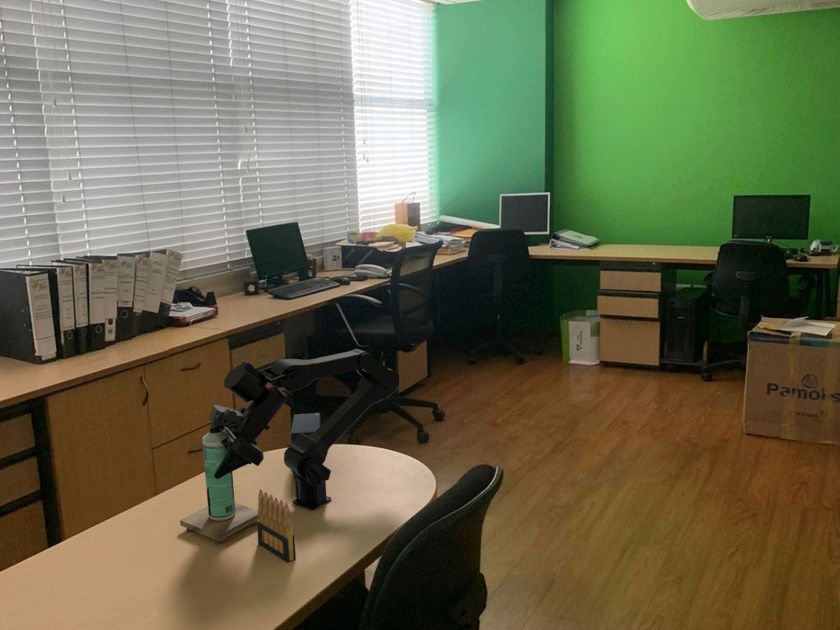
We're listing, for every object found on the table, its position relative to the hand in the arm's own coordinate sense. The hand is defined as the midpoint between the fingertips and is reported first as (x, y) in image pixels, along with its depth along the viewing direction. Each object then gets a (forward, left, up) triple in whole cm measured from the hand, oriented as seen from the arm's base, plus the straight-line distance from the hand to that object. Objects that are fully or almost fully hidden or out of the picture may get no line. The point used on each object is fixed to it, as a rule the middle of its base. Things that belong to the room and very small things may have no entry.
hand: (211, 472), depth 161 cm
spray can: (-1, -1, -10) cm, 10 cm away
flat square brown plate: (-1, -1, -13) cm, 13 cm away
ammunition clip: (-18, 0, -13) cm, 22 cm away
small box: (+5, -34, -13) cm, 37 cm away
